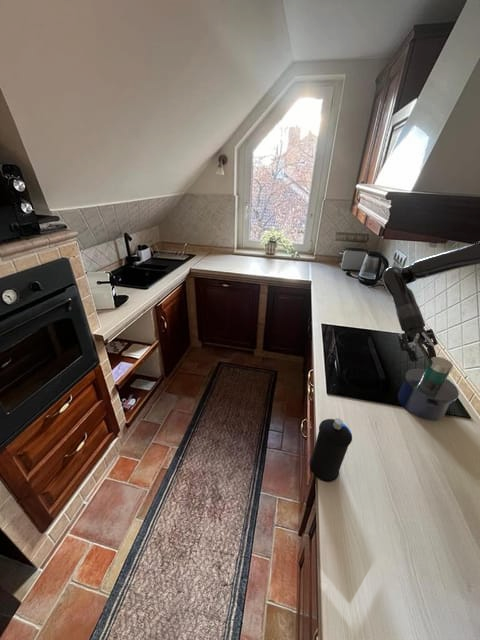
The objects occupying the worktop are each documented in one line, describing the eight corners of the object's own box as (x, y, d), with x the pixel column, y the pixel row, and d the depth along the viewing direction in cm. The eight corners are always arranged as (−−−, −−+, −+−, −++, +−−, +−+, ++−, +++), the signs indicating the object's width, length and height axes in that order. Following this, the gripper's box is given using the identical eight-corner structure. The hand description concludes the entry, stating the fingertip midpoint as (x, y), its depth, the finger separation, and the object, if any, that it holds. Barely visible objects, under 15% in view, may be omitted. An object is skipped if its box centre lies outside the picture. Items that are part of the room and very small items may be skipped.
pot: (441, 394, 99) (452, 374, 94) (450, 431, 85) (465, 410, 80) (395, 381, 105) (404, 362, 100) (397, 413, 91) (407, 392, 85)
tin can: (439, 380, 91) (451, 359, 86) (442, 391, 86) (455, 370, 81) (419, 375, 93) (430, 354, 89) (421, 385, 89) (432, 364, 84)
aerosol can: (327, 488, 68) (345, 442, 58) (303, 465, 74) (315, 419, 64) (344, 469, 73) (362, 423, 63) (320, 448, 78) (333, 403, 68)
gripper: (402, 316, 89) (417, 361, 86) (433, 311, 93) (449, 355, 89) (386, 321, 97) (399, 363, 93) (415, 317, 100) (430, 358, 96)
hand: (424, 359), depth 91 cm, fingers open, 8 cm apart
